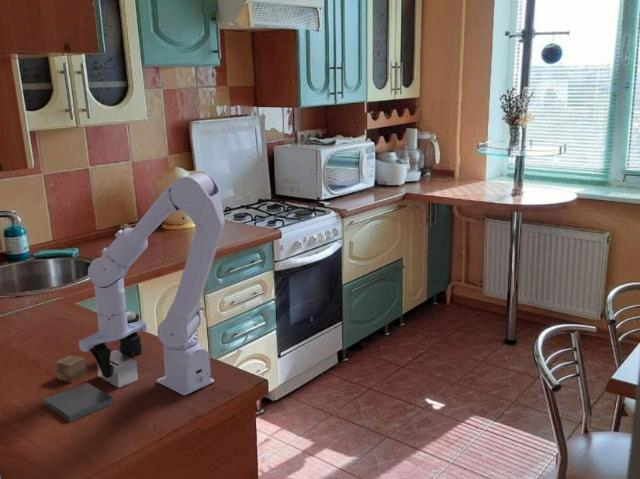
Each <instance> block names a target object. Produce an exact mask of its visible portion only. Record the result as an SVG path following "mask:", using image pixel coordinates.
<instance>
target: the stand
mask: <svg viewBox="0 0 640 479" xmlns="http://www.w3.org/2000/svg"><path fill="white" fill-rule="evenodd" d="M113 404H114V397H113V396H112V395H109V394H107V393H106V392H104V391H102V390H101V389H99V388H97V387H95V386H93V385H92V384H90V383H88V382H84V383H81V384H78V385H76V386H74V387H73V386H72V387H70V388H69V389H66V390H63V391H61V392H60V391H59V392H58V393H55V394H53V395H50V396H48V397H45V398H43V405H44V406H46V407H47V408H49V409H50V410H52V411H53V412H55V413H56V414H58V415H59V416H60V417H62V418H63V419H65V420H66V421H67V422H69V423H70V422H73V421H76V420H78V419H80V418H83V417H84V416H87V415H90V414H92V413H95V412H96V411H98V410H101V409H104V408H106V407H109V406H110V405H113Z"/></svg>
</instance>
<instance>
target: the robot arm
mask: <svg viewBox="0 0 640 479" xmlns="http://www.w3.org/2000/svg"><path fill="white" fill-rule="evenodd" d="M223 210H224V209H223V205H222V201H221V188H220V186H219V185H218V184H217V182H216V180H215V179H214V177H213V176H212V175H210V174H209V173H208V172H205V171H201V170H198V171H193V172H192V173H190V174H188V175H186V176H181V177H179V178H176V180H174V181H173V183H172V184H171V186H169V187H167V188H166V189H165V190H164V191H162V193H161V194H160V195H159V197H158V198H156V200H155V201H154V202H153V204H152V205H151V206H150V207H149V209H147V211H146V213H145V214H144V215H143V216H142V217H141V219H140V220H139V221H138V222H137V224H136V225H135V226H134V227H126V228H124V229H123V230H122V229H120V230H118V231H117V232H116V233H115V234H114V236H115V237H116V238H115V239H114V240H113V241H112V242H111V244H110V245H109V246H108V247H104V248H103V249H102V250H101V255H102V256H100V257H98V258H95V259H93V260H91V262H90V265H88V268H87V276H88V278H89V280H90V281H91V282H92V283H93V284H94V294H95V305H96V314H97V324H98V331H96V332H95V333H93V334H91V335H89V336H87V337H85V338H83V339H80V340H78V346H79V350H80V351H81V352H84V353H87V352H90V353H91V354H92V356H94V359H95V360H96V363H97V362H98V364H99V367H100V369H101V372H102V375H103V376H104V377H106V378H109V377H110V376H111V370H110V354H111V352H112V349H110V348H108V346H107V345H106V344H109V343H111V342H114V341H119V344H120V345H121V349H122V354H124V355H126V356H128V357H130V358H132V359H134V360H135V355H136V354H135V352H136V349H137V347H138V345H139V343H141V341H142V339H141V336H140V335H138V333H140V332H142V333H144V332H147V330H148V328H147V322H146V321H142V320H138V322H134V323H129V324H127V313H126V311H127V304H126V303H127V302H126V301H127V300H126V294H125V292H126V290H125V280H124V279H125V276H126V275H127V273H128V271H129V268H130V267H131V266H132V265H133V264H134V263H135V262H136V260H138V259H139V257H140V256H141V255H142V253H143V254H144V251H145V250H146V249H147V248H148V244H149V243H148V242H149V241H148V237H149V236H151V235H152V233H154V231H155V230H156V229H157V228H158V227H159V226H160V225H161V224H162V223H163V222H164V221H165V220H166V219H167V218H168V217H169V216H170V214H171V213H175V212H178V211H182V212H183V213H184V214H185V215H186V216H188V217H189V218H190V219H191V221H192V222H193V224H194V225H195V227H196V229H195V233H194V236H193V239H192V243H191V246H190V249H189V252H188V255H187V259H186V262H185V265H184V268H183V272H182V275H181V277H180V282H179V285H178V288H177V290H176V293H175V297H174V300H173V301H172V304H171V305H170V307H169V309H168V311H167V313H166V316H165V318H164V319H163V320H162V321H161V322H160V323H159V324H158V326H157V331H156V333H157V334H156V335H157V338H158V339H159V341H160V343H161V344H162V348H163V350H162V351H163V362H164V364H163V365H164V376H163V377H160V378H157V379H156V382H157V383H158V384H161V385H162V386H164V387H166V388H167V389H169V390H173V391H174V392H176V393H178V394H180V395H182V396H186V395H189V394H191V393H193V392H195V391H198V390H199V389H202V388H204V387H207V386H209V385H211V384H213V383H214V382H215V379H214V378H213V377H212V374H211V372H212V371H211V358H210V357H211V356H210V354H209V352H208V351H207V350H206V349H205V348H204V347H202V345H201V344H200V340H199V335H198V333H197V330H198V328H199V327H200V326H201V323H202V316H201V308H202V302H201V299H202V296H203V293H204V291H205V288H206V284H207V280H208V278H209V275H210V272H211V268H212V265H213V262H214V260H215V256H216V254H217V250H218V246H219V244H220V240H221V238H222V235H223V231H224V229H225V225H226V219H225V218H226V217H225V214H224V211H223Z"/></svg>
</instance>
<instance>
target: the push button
mask: <svg viewBox="0 0 640 479" xmlns="http://www.w3.org/2000/svg"><path fill="white" fill-rule="evenodd" d="M126 313H127V324H129V323H134V322H138V321H139V320H140V315H139V314H137V313H136V312H135V311H133V310H126ZM117 346H118V349H116V351H118V352H120V353H122V349H121V345H120V343H119V344H118V345H117ZM142 351H143V350H142V343H141V342H140V343H139V345H138V347H137V349H136V352H135V355H141V354H142V353H143V352H142Z"/></svg>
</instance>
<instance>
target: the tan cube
mask: <svg viewBox="0 0 640 479" xmlns="http://www.w3.org/2000/svg"><path fill="white" fill-rule="evenodd" d="M85 359H86V358H85V357H80V356H76V355H73V354H70V355H68V356H66V357H64V358H62V359H59V360H57V361H56V362H55V366H56V374H57V379H58V380H59V379H62V380H61V381H63V380H66V381H69V382H68V383H70V382H73V381H75V380H76V381H78V380H79V378H80V379H82V378H84V377H85V376H84V375H86V376H87V369H86V360H85ZM83 376H84V377H83ZM81 377H82V378H81ZM77 379H78V380H77ZM66 381H65V382H66ZM76 381H75V382H76ZM73 383H74V382H73Z"/></svg>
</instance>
